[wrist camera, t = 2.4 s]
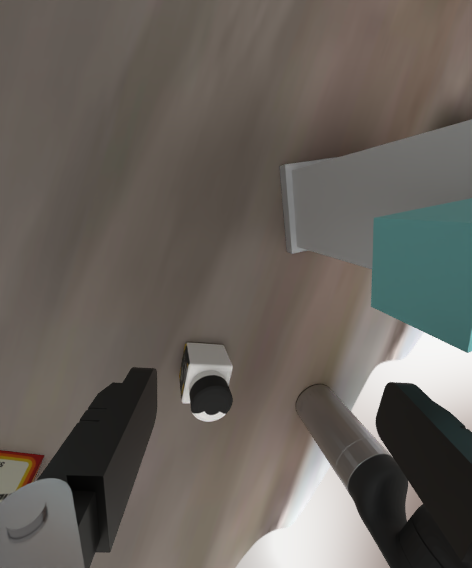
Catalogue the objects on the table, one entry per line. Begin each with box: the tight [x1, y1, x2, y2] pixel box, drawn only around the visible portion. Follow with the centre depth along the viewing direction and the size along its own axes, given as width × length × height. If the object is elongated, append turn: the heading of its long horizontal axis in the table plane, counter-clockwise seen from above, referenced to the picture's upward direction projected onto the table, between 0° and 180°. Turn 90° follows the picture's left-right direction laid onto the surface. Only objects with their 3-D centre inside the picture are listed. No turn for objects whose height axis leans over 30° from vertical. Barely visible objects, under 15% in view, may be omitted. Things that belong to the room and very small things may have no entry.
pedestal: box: [280, 119, 472, 269], centre depth 30 cm, size 18×14×32 cm
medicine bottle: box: [179, 342, 233, 422], centre depth 41 cm, size 7×7×12 cm
